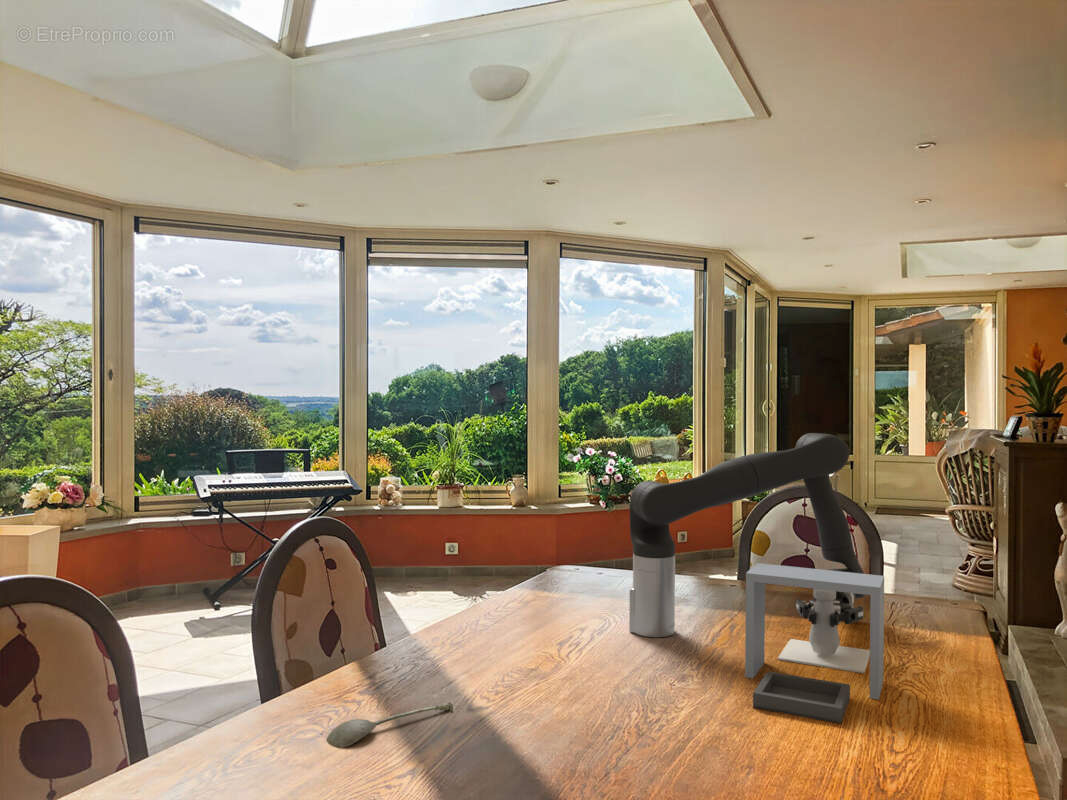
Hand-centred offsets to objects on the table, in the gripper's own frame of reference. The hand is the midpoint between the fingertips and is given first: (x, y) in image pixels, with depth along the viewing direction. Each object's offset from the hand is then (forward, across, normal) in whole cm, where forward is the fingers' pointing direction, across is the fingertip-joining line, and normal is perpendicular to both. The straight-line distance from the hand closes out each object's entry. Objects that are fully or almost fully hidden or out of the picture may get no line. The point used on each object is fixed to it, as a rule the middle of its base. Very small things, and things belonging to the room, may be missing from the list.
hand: (822, 620), depth 159 cm
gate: (+11, 0, +8) cm, 14 cm away
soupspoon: (+65, -56, +8) cm, 86 cm away
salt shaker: (-3, 0, +7) cm, 8 cm away
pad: (-4, 0, +8) cm, 9 cm away
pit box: (+24, 0, +8) cm, 25 cm away
